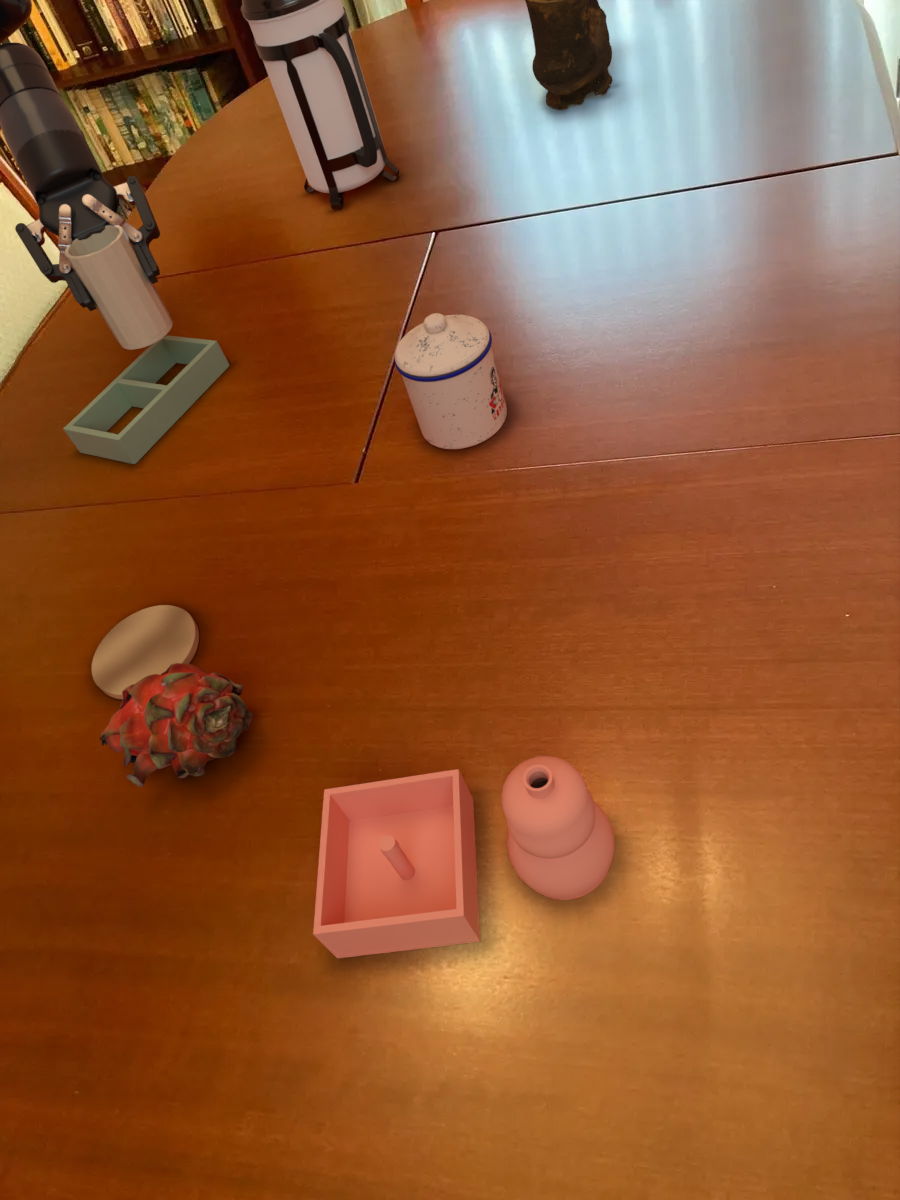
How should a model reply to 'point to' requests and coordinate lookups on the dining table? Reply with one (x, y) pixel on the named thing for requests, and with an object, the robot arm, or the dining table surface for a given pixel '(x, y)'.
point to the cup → (120, 287)
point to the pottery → (447, 854)
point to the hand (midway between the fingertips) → (122, 293)
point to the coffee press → (320, 92)
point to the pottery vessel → (570, 49)
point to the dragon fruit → (177, 721)
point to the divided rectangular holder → (147, 398)
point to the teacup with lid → (452, 380)
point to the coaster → (144, 647)
